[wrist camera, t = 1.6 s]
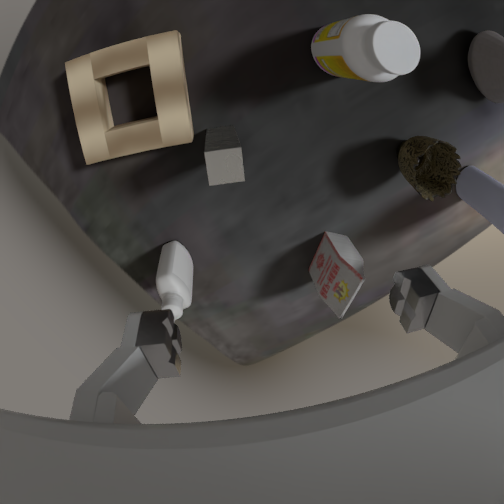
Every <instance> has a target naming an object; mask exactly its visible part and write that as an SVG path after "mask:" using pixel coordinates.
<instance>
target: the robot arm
mask: <svg viewBox="0 0 504 504" xmlns="http://www.w3.org/2000/svg"><path fill="white" fill-rule="evenodd" d="M393 282H394V283H395V285H394V286H393V287H392V289H391V290H390V295H389V299H390V305H391V308H392V310H393V312H394V313H395V314H397V315H399V316H400V323H401V325H402V326H403V328H404V330H405V331H406V333H410V332H413V331H417V330H421V329H425V330H426V331H427V332H429V333H430V334H432V335H433V336H435V337H436V338H437V339H439V340H440V341H442V342H443V343H444V344H446V345H447V346H449V347H450V348H452V349H453V350H454V351H456V352H457V353H458V355H457V357H456V358H455V360H454V361H452V362H449V363H447V364H444V365H442V366H439V367H437V368H434V369H432V370H429V371H427V372H425V373H422V374H419V375H416V376H414V377H411V378H408V379H406V380H402V381H400V382H396V383H394V384H390V385H387V386H385V387H381V388H378V389H375V390H371V391H368V392H365V393H361V394H358V395H354V396H350V397H347V398H343V399H339V400H335V401H331V402H327V403H323V404H318V405H314V406H309V407H304V408H299V409H295V410H290V411H284V412H278V413H273V414H266V415H259V416H253V417H245V418H237V419H228V420H220V421H208V422H194V423H175V424H141V423H140V422H139V420H138V419H137V418H136V417H135V416H134V415H135V414H136V412H137V411H138V409H139V408H140V406H141V405H142V403H143V401H144V400H145V399H146V397H147V396H148V394H149V393H150V391H151V389H152V388H153V386H154V385H155V383H156V382H157V380H158V378H169V377H178V376H180V375H181V374H180V373H181V360H180V357H179V354H180V352H181V351H182V343H181V335H180V331H179V328H178V326H177V325H176V324H174V315H173V312H172V310H170V309H165V310H154V311H144V312H134V313H130V314H129V315H128V318H127V321H126V326H125V330H124V334H123V338H122V342H121V347H120V348H116V349H115V350H114V351H113V352H112V353H111V354H110V356H108V358H107V359H106V360H105V361H104V362H103V363H102V364H101V365H100V366H99V367H98V368H97V369H96V370H95V371H94V372H93V373H92V375H90V376H89V377H88V378H87V380H86V381H85V382H84V383H83V384H82V385H81V386H80V387H79V388H78V389H77V390H76V394H75V398H74V402H73V407H72V411H71V415H70V420H63V419H55V418H48V417H41V416H35V415H29V414H23V413H18V412H13V411H8V410H4V409H0V504H504V316H503V315H502V314H501V312H500V311H499V310H497V309H495V308H493V307H491V306H489V305H487V304H485V303H483V302H481V301H479V300H477V299H475V298H472V297H471V296H469V295H466V294H464V293H462V292H460V291H458V290H456V289H451V288H450V287H449V286H448V285H447V284H446V283H445V281H444V280H443V279H442V278H441V277H440V276H439V274H438V273H437V272H436V271H435V270H434V269H433V268H432V266H430V265H424V266H419V267H416V268H411V269H407V270H403V271H398V272H396V273H395V274H394V277H393Z"/></svg>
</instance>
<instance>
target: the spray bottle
mask: <svg viewBox="0 0 504 504" xmlns="http://www.w3.org/2000/svg"><path fill="white" fill-rule="evenodd" d="M456 192H457V194H458V196H459V197H460V198H461V199H462V200H463V201H465V202H466V203H467V204H469V205H470V206H471V207H472V208H474V209H475V210H476V211H477V212H479V213H480V214H481V215H482V216H483V217H485V218H486V219H487V220H488V221H489V222H491V223H492V224H493V225H494V226H495V227H496V228H497V229H499V230H500V231H501V232H502V233H503V234H504V185H503V184H501V183H500V182H498V181H497V180H495V179H494V178H492V177H491V176H489V175H488V174H486V173H485V172H483V171H481V170H480V169H478V168H477V167H475V166H468V167H466V168H464V169H463V170H462V171H461V172H460V175H459V176H458V178H457V184H456Z"/></svg>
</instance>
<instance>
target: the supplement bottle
mask: <svg viewBox="0 0 504 504" xmlns="http://www.w3.org/2000/svg"><path fill="white" fill-rule="evenodd" d="M311 51H312V56H313V58H314V60H315V62H316V63H317V65H318V66H319V67H320V68H321V69H322V70H323V71H325V72H326V73H328V74H330V75H333V76H337V77H344V78H351V79H358V80H365V81H371V82H386V81H390V80H392V79H394V78H396V77H397V76H398V75H404V74H408V73H410V72H411V71H413V70H414V69H415V68H416V66H417V65H418V62H419V59H420V46H419V43H418V40H417V38H416V36H415V35H414V33H413V32H412V31H411V30H410V29H409V28H408V27H407V26H406V25H404V24H402V23H400V22H397V21H389V20H388V19H386V18H384V17H381V16H378V15H373V14H364V15H359V16H355V17H352V18H348V19H345V20H341V21H338V22H334V23H331V24H328V25H326V26H324V27H322V28H320V29H319V30H318V31H317V32H316V34H315V35H314V37H313V39H312V43H311Z"/></svg>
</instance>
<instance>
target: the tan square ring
mask: <svg viewBox="0 0 504 504" xmlns="http://www.w3.org/2000/svg"><path fill="white" fill-rule="evenodd" d="M146 66H150V71H151V77H152V84H153V90H154V97H155V103H156V109H157V115H158V116H155V117H150V118H145V119H141V120H137V121H132V122H128V123H124V124H120V125H116V126H114V124H113V119H112V114H111V109H110V104H109V98H108V93H107V87H106V81H105V78H106V77H109V76H112V75H116V74H119V73H123V72H127V71H130V70H134V69H138V68H142V67H146ZM65 67H66V73H67V79H68V85H69V91H70V96H71V101H72V106H73V111H74V116H75V121H76V125H77V129H78V134H79V138H80V142H81V146H82V150H83V154H84V157H85V161H86V165H89V164H93V163H96V162H100V161H104V160H108V159H112V158H116V157H120V156H125V155H129V154H134V153H138V152H143V151H148V150H152V149H158V148H163V147H168V146H173V145H179V144H185V143H191V142H192V141H193V137H194V131H193V125H192V118H191V111H190V104H189V97H188V90H187V83H186V75H185V68H184V60H183V52H182V44H181V35H180V33H179V32H178V31H177V30H175V31H170V32H165V33H160V34H156V35H151V36H147V37H143V38H139V39H135V40H131V41H128V42H124V43H121V44H117V45H114V46H111V47H107V48H104V49H101V50H98V51H95V52H92V53H89V54H87V55H84V56H81V57H78V58H76V59H73V60H71V61H68V62H66V63H65Z"/></svg>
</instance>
